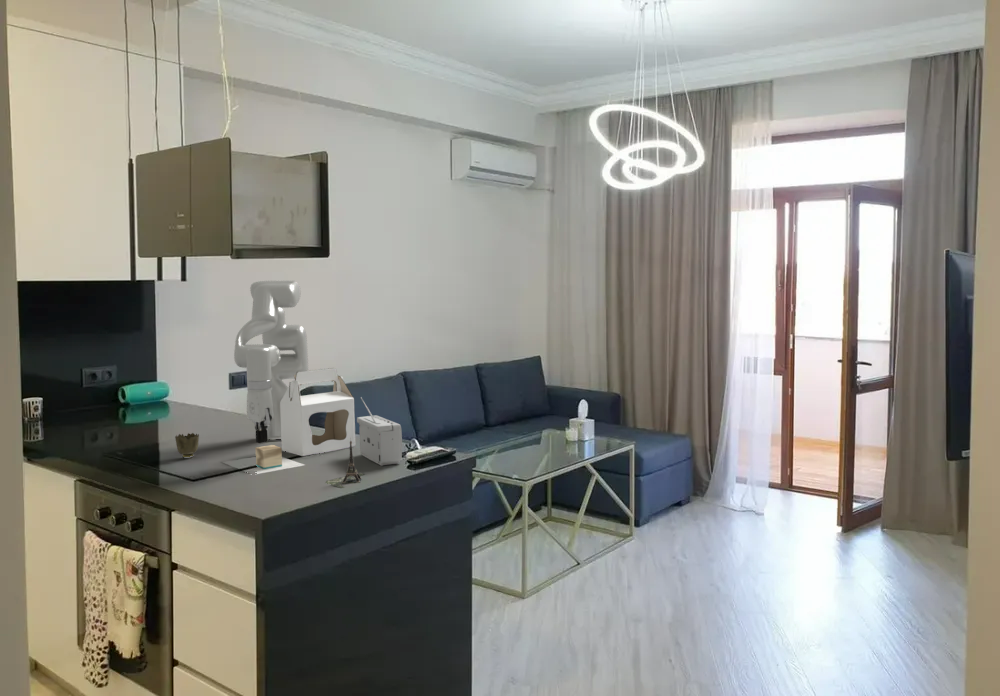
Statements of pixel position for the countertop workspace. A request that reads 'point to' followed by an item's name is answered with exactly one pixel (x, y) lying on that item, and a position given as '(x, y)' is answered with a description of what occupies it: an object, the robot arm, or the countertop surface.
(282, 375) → the robot arm
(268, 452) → the block
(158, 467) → the countertop surface
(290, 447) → the gable box
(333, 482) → the eiffel tower figurine
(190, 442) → the cup
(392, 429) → the stereo radio cassette player
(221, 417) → the countertop surface
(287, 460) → the mat
